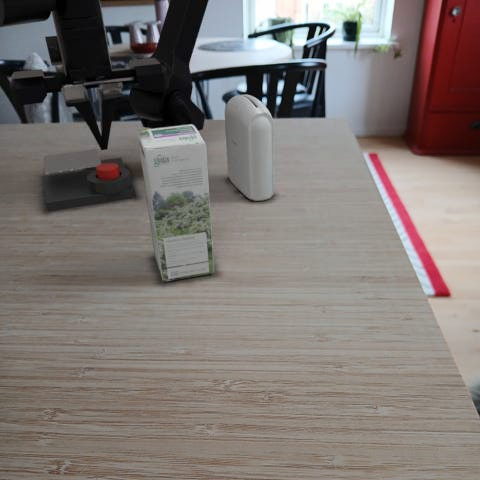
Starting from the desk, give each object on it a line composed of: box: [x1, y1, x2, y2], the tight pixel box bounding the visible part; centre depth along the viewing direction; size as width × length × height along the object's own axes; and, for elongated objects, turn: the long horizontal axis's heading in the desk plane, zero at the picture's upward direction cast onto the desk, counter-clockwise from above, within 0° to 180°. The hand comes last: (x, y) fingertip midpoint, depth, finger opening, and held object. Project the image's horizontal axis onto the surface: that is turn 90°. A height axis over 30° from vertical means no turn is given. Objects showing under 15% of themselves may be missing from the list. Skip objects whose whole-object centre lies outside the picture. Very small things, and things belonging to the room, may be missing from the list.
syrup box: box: [136, 124, 215, 283], centre depth 52 cm, size 6×6×14 cm
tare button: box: [96, 163, 120, 180], centre depth 71 cm, size 3×3×2 cm
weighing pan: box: [42, 148, 101, 176], centre depth 76 cm, size 8×8×1 cm
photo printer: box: [224, 94, 275, 202], centre depth 70 cm, size 10×4×12 cm, turn 20°
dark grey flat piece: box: [42, 157, 137, 213], centre depth 75 cm, size 12×14×3 cm
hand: (104, 149), depth 70 cm, fingers closed
